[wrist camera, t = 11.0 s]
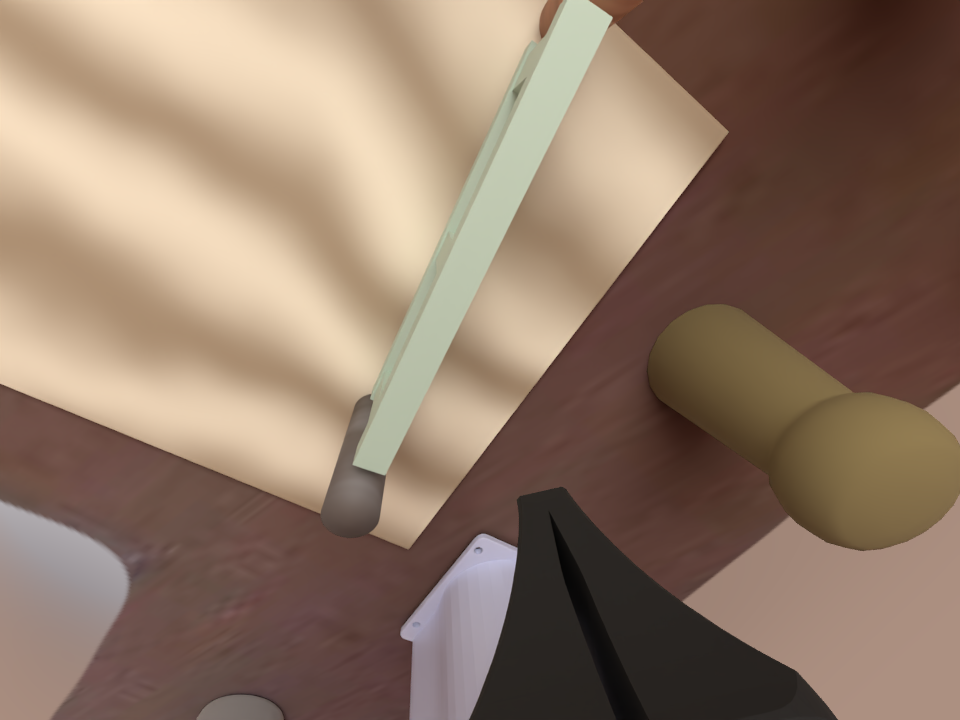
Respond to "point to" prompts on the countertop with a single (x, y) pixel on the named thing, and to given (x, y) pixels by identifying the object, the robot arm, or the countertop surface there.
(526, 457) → the countertop surface
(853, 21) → the countertop surface
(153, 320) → the base
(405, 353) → the bar
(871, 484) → the cork
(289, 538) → the countertop surface
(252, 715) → the lotion bottle
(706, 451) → the countertop surface
